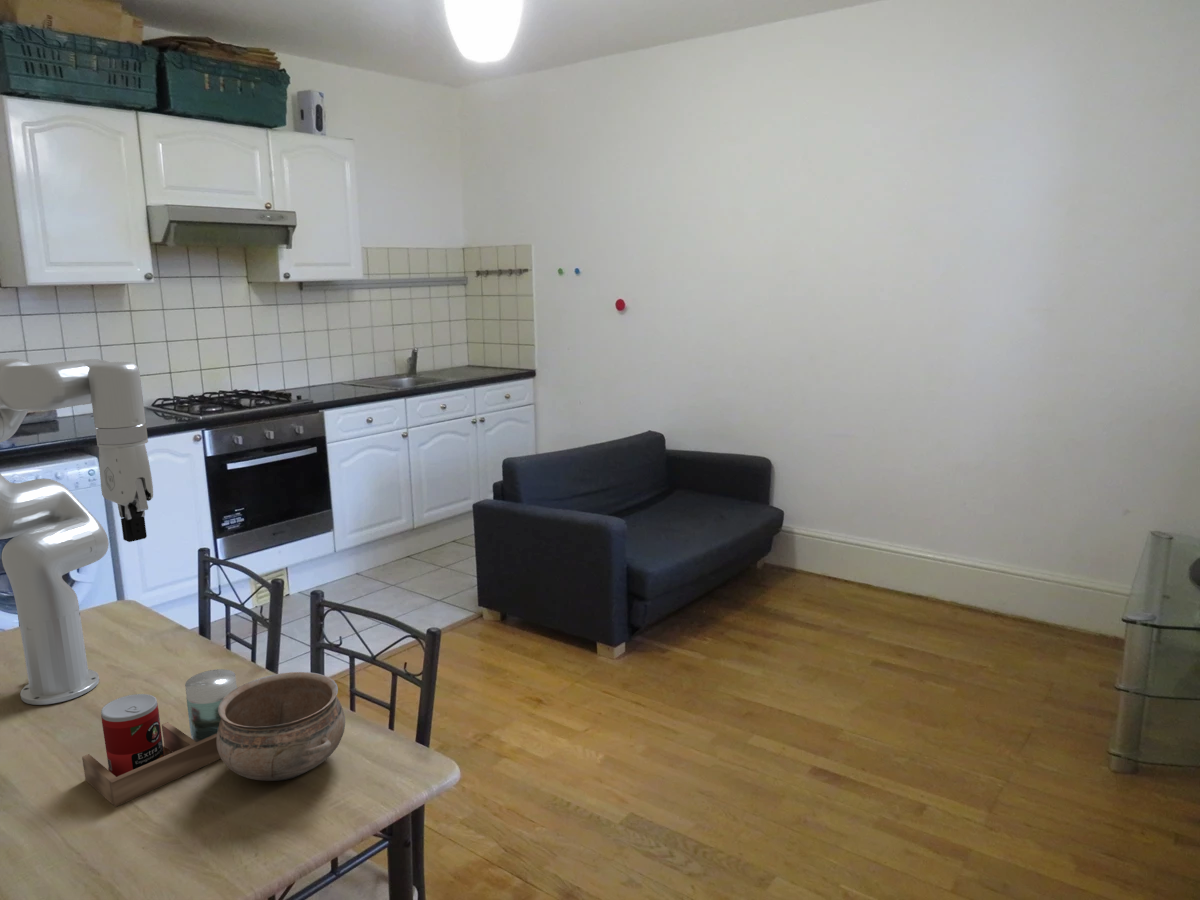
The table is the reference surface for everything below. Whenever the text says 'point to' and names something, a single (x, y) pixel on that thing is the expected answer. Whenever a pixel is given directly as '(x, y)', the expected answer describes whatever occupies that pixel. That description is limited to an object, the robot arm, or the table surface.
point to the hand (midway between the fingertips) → (135, 539)
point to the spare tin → (207, 700)
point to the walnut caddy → (153, 767)
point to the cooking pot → (280, 725)
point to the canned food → (131, 732)
